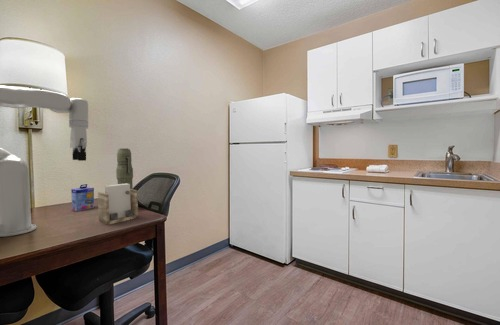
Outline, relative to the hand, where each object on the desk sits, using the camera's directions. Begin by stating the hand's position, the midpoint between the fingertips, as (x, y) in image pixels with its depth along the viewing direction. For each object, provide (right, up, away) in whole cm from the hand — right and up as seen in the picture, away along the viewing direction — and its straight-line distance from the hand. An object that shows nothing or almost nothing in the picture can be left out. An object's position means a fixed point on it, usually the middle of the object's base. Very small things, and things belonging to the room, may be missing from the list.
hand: (79, 160), depth 115 cm
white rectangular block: (+18, -28, +2) cm, 33 cm away
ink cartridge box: (-14, -28, +22) cm, 39 cm away
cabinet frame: (+18, -29, +3) cm, 34 cm away
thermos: (+9, -28, +27) cm, 40 cm away
